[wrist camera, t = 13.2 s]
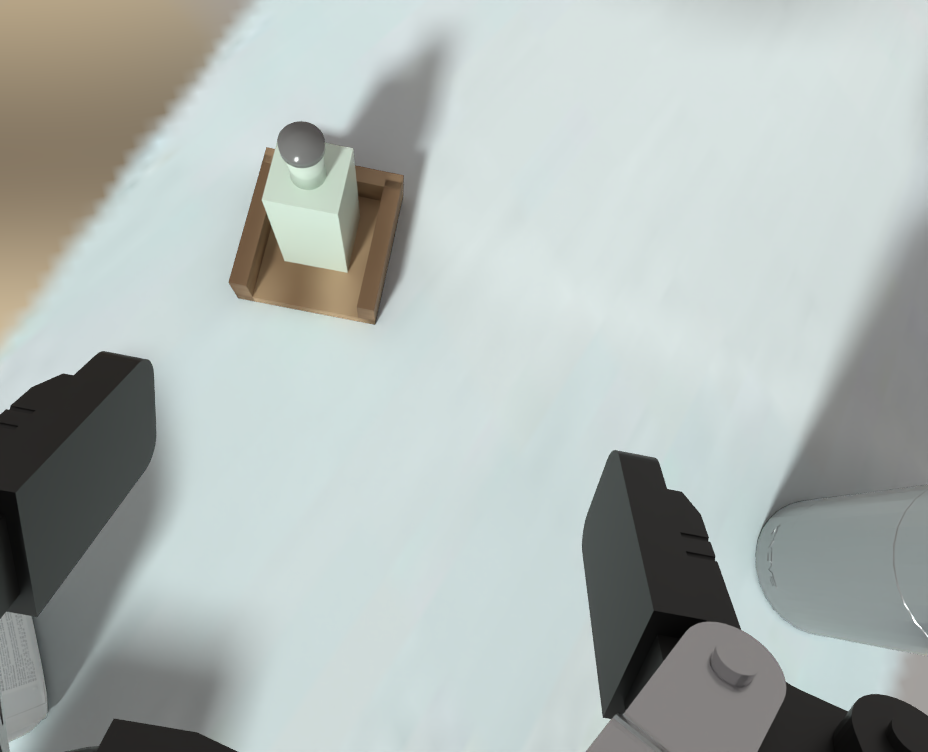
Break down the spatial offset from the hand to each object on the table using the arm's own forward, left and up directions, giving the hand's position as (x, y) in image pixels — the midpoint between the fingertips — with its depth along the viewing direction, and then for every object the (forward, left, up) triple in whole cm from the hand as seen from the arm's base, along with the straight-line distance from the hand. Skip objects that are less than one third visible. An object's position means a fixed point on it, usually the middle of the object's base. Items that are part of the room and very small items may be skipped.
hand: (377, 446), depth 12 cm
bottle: (+9, -19, -36) cm, 42 cm away
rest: (+9, -20, -36) cm, 42 cm away
